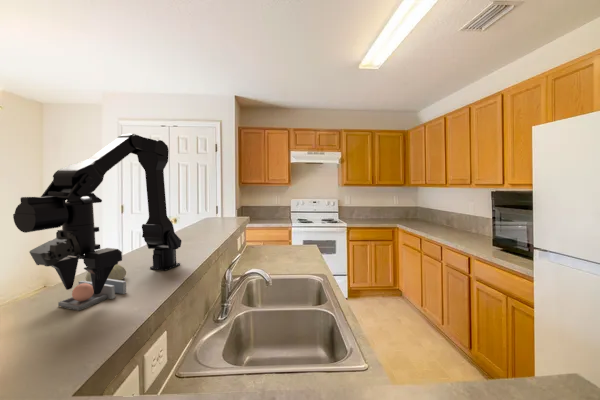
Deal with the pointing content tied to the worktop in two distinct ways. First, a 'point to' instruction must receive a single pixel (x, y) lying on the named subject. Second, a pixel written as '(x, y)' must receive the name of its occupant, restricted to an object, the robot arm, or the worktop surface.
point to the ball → (82, 292)
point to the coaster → (78, 305)
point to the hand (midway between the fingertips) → (83, 291)
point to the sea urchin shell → (112, 273)
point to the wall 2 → (117, 285)
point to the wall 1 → (104, 289)
